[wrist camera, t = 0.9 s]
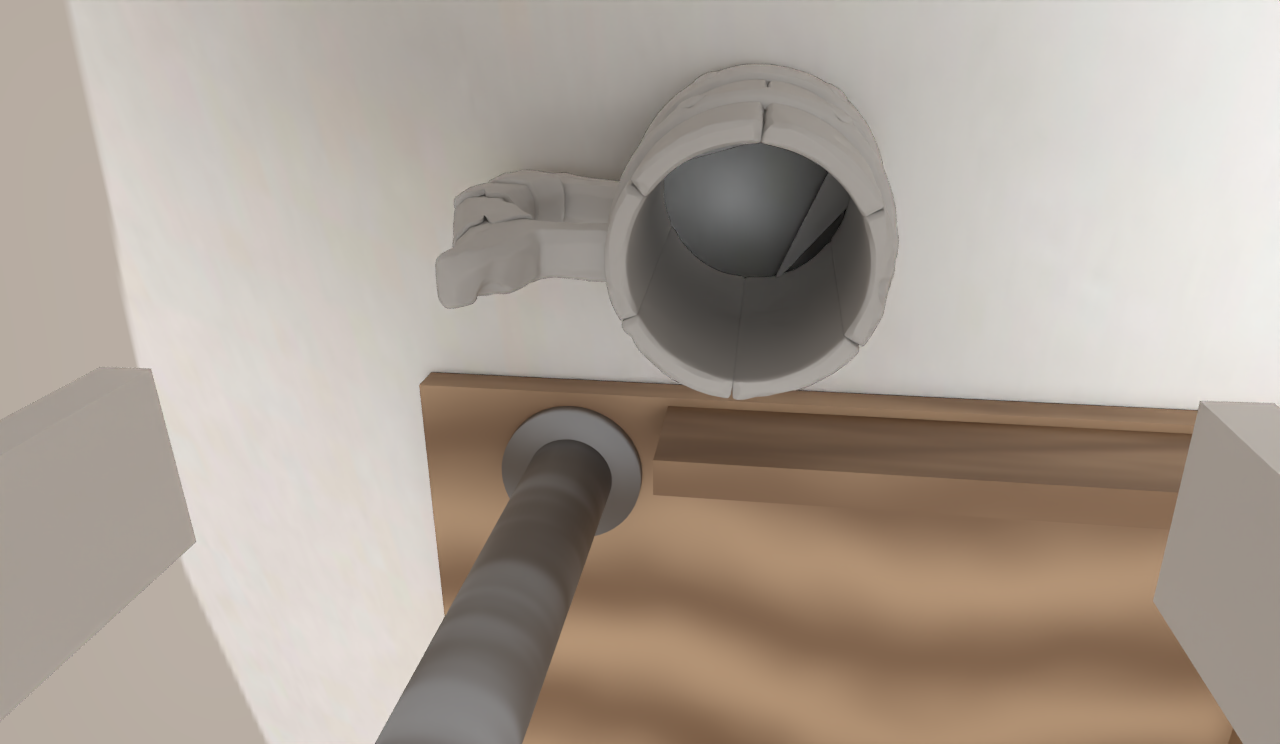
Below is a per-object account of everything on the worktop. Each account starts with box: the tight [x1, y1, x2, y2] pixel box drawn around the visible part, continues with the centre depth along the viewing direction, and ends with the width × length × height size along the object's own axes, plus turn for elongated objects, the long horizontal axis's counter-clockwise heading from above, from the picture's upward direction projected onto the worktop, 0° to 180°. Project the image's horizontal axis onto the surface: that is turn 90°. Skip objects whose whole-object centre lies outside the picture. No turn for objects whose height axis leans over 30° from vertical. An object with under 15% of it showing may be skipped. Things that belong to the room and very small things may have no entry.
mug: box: [436, 64, 899, 400], centre depth 23 cm, size 8×12×12 cm, turn 90°
